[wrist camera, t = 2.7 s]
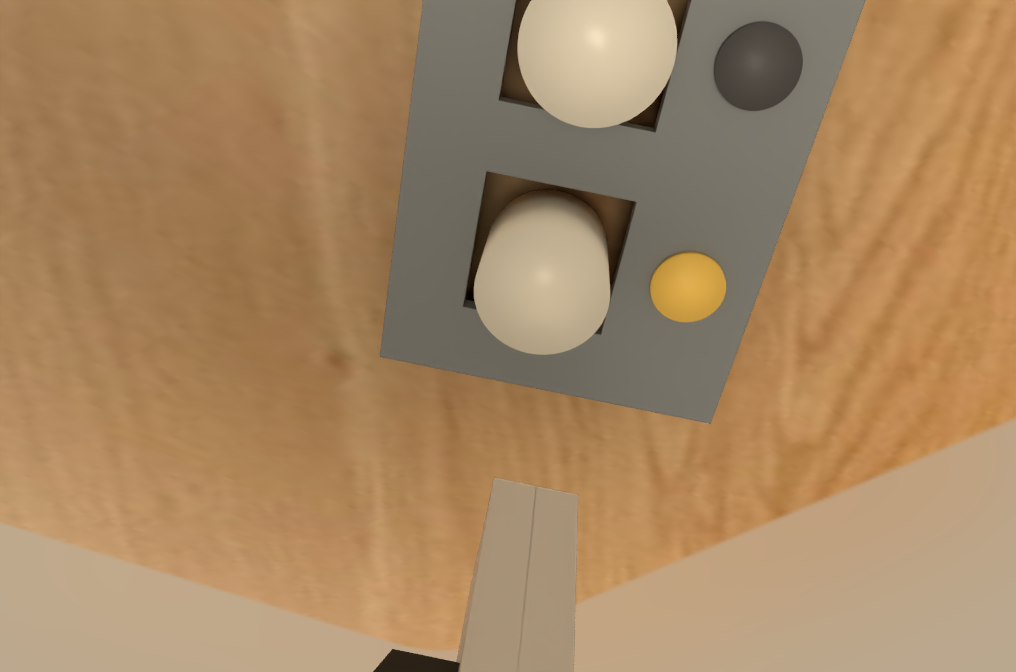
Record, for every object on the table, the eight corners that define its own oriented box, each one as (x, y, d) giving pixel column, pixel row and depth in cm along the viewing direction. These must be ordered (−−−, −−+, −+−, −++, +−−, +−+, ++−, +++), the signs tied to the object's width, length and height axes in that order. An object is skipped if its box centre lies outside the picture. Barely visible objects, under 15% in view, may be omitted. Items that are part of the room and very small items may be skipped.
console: (397, 319, 31) (377, 360, 28) (508, -530, 20) (494, -606, 17) (700, 380, 31) (711, 428, 28) (981, -430, 20) (1049, -489, 17)
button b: (516, 84, 25) (504, 111, 21) (542, -59, 23) (534, -55, 19) (644, 110, 25) (653, 142, 21) (680, -31, 23) (697, -21, 19)
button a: (479, 289, 28) (464, 340, 24) (499, 178, 26) (485, 217, 23) (591, 311, 28) (592, 366, 24) (620, 203, 26) (625, 246, 23)
